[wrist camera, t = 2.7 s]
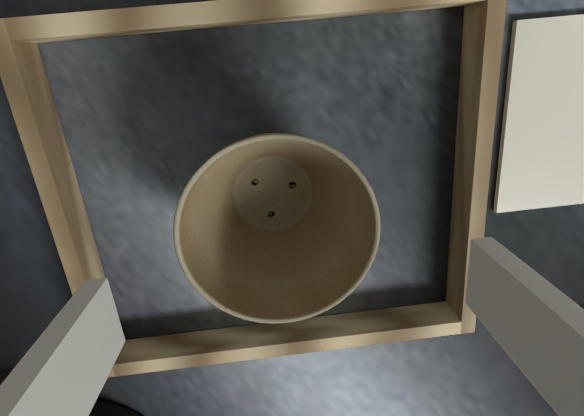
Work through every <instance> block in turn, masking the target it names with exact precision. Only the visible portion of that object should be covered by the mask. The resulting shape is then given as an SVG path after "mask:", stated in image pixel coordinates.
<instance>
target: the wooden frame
mask: <svg viewBox="0 0 584 416" xmlns="http://www.w3.org/2000/svg"><path fill="white" fill-rule="evenodd" d="M506 3H507V0H215V1H203V2H191V3H179V4H167V5H155V6H143V7H131V8H119V9H107V10H95V11H83V12H71V13H59V14H47V15H35V16H23V17H11V18H0V77H1V80H2V83H3V86H4V89H5V92H6V95H7V98H8V101H9V104H10V107H11V110H12V113H13V116H14V119H15V123H16V126H17V129H18V132H19V135H20V138H21V141H22V144H23V147H24V150H25V153H26V156H27V159H28V162H29V165H30V168H31V171H32V174H33V177H34V180H35V183H36V186H37V189H38V192H39V195H40V198H41V201H42V204H43V207H44V210H45V213H46V216H47V219H48V222H49V225H50V228H51V231H52V234H53V238H54V241H55V244H56V247H57V250H58V253H59V256H60V259H61V262H62V265H63V268H64V271H65V274H66V277H67V280H68V283H69V286H70V289H71V292H72V295H74V293H75V292H76V291H77V290H78V289H79V287H80V286H81V285H82V284H83V282H84V281H85V280H91V279H101V278H105V275H104V271H103V268H102V265H101V261H100V258H99V254H98V251H97V247H96V244H95V240H94V237H93V234H92V230H91V227H90V223H89V220H88V216H87V213H86V209H85V206H84V203H83V199H82V196H81V192H80V189H79V185H78V182H77V178H76V175H75V172H74V168H73V165H72V161H71V158H70V154H69V151H68V148H67V144H66V141H65V137H64V134H63V130H62V127H61V123H60V120H59V117H58V113H57V110H56V106H55V103H54V99H53V96H52V92H51V89H50V86H49V82H48V79H47V75H46V72H45V68H44V65H43V61H42V58H41V55H40V51H39V48H38V44H37V43H43V42H55V41H67V40H78V39H90V38H101V37H113V36H124V35H136V34H148V33H159V32H171V31H182V30H194V29H205V28H217V27H229V26H240V25H252V24H263V23H275V22H286V21H298V20H310V19H321V18H333V17H344V16H356V15H367V14H379V13H390V12H402V11H414V10H425V9H437V8H448V7H460V6H464V20H463V36H462V52H461V67H460V83H459V99H458V115H457V130H456V146H455V162H454V178H453V194H452V209H451V225H450V241H449V257H448V272H447V288H446V301H445V302H436V303H428V304H420V305H412V306H403V307H395V308H387V309H378V310H370V311H362V312H353V313H345V314H337V315H328V316H320V317H312V318H307V319H304V320H300V321H295V322H289V323H275V324H271V323H262V324H253V325H245V326H237V327H228V328H220V329H212V330H204V331H195V332H187V333H179V334H170V335H162V336H154V337H145V338H137V339H129V340H125V343H124V345H123V347H122V349H121V351H120V353H119V355H118V357H117V359H116V361H115V363H114V365H113V367H112V369H111V371H110V374H109V376H108V377H116V376H124V375H132V374H140V373H148V372H156V371H164V370H172V369H180V368H188V367H196V366H204V365H212V364H220V363H228V362H237V361H245V360H253V359H261V358H269V357H277V356H285V355H293V354H301V353H309V352H317V351H325V350H333V349H341V348H349V347H357V346H365V345H374V344H382V343H390V342H398V341H406V340H414V339H422V338H430V337H438V336H446V335H454V334H462V333H470V332H475V322H476V315H475V314H474V313H473V312H472V310H471V309H470V308H469V307H468V306H467V304H466V303H465V301H466V289H467V278H468V267H469V255H470V244H471V239H476V238H484V229H485V219H486V208H487V198H488V188H489V178H490V167H491V157H492V147H493V136H494V126H495V116H496V106H497V95H498V85H499V75H500V64H501V54H502V44H503V33H504V23H505V13H506Z"/></svg>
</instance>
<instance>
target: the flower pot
mask: <svg viewBox="0 0 584 416" xmlns="http://www.w3.org/2000/svg"><path fill="white" fill-rule="evenodd" d="M252 182H255V183H256V185H253V184H252ZM291 182H294V183H293V184H291V185H289V184H290V183H291ZM272 212H274V216H272ZM173 236H174V245H175V250H176V254H177V257H178V261H179V263H180V266H181V268H182V270H183V272H184V274H185V275H186V277H187V278H188V280H189V282H190V283H191V284H192V286H193V287H194V288H195V289H196V290H197V292H198V293H199V294H201V295H202V296H203V297H204V298H205V299H206V300H207V301H209V302H210V303H211V304H212V305H214V306H215V307H217V308H218V309H220V310H222V311H224V312H226V313H228V314H230V315H232V316H235V317H238V318H241V319H244V320H248V321H252V322H258V323H271V324H275V323H289V322H295V321H300V320H304V319H307V318H310V317H313V316H316V315H318V314H321V313H323V312H325V311H327V310H329V309H331V308H332V307H334V306H335V305H337V304H339V303H340V302H341V301H343V300H344V299H345V298H346V297H347V296H348V295H350V294H351V293H352V292H353V291H354V290H355V289H356V287H357V286H358V285H359V284H360V283H361V281H362V280H363V279H364V277H365V276H366V274H367V272H368V271H369V269H370V267H371V265H372V263H373V260H374V258H375V256H376V253H377V249H378V245H379V240H380V214H379V208H378V204H377V201H376V198H375V195H374V192H373V190H372V188H371V186H370V184H369V182H368V181H367V179H366V178H365V176H364V175H363V173H362V172H361V171H360V170H359V169H358V167H357V166H356V165H355V164H354V163H353V162H352V161H351V160H350V159H348V158H347V157H346V156H345V155H343V154H342V153H341V152H339V151H338V150H336V149H334V148H333V147H331V146H329V145H327V144H325V143H323V142H320V141H318V140H315V139H312V138H309V137H305V136H302V135H297V134H290V133H265V134H260V135H254V136H250V137H247V138H244V139H241V140H239V141H236V142H234V143H232V144H230V145H228V146H226V147H225V148H223V149H221V150H220V151H218V152H217V153H215V154H214V155H213V156H212V157H210V158H209V159H208V160H207V161H206V162H205V163H204V164H203V165H202V166H201V167H200V168H199V169H198V170H197V171H196V172H195V173H194V174H193V176H192V177H191V179H190V180H189V181H188V183H187V185H186V186H185V188H184V190H183V192H182V194H181V196H180V199H179V202H178V205H177V208H176V212H175V216H174V226H173Z"/></svg>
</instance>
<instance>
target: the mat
mask: <svg viewBox="0 0 584 416" xmlns="http://www.w3.org/2000/svg"><path fill="white" fill-rule="evenodd" d="M582 203H584V14H581V15H569V16H558V17H547V18H535V19H524V20H515V21H513V26H512V35H511V45H510V55H509V64H508V74H507V83H506V93H505V103H504V112H503V122H502V132H501V141H500V151H499V160H498V170H497V180H496V189H495V199H494V209H493V211H494V212H496V213H501V212H510V211H519V210H528V209H537V208H546V207H555V206H564V205H573V204H582Z"/></svg>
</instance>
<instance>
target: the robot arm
mask: <svg viewBox="0 0 584 416" xmlns="http://www.w3.org/2000/svg"><path fill="white" fill-rule="evenodd" d="M465 303H466V304H467V306H468V307H469V308H470V309H471V310H472V312H473V313H474V314H475V315H476V316H477V318H478V319H479V320H480V321H481V323H482V324H483V325H484V326H485V327H486V329H487V330H488V331H489V332H490V334H491V335H492V336H493V337H494V338H495V340H496V341H497V342H498V343H499V344H500V346H501V347H502V348H503V349H504V351H505V352H506V353H507V354H508V355H509V357H510V358H511V359H512V360H513V361H514V363H515V364H516V365H517V366H518V368H519V369H520V370H521V371H522V372H523V374H524V375H525V376H526V377H527V378H528V380H529V381H530V382H531V383H532V385H533V386H534V387H535V388H536V389H537V391H538V392H539V393H540V394H541V395H542V397H543V398H544V399H545V400H546V402H547V403H548V404H549V405H550V406H551V408H552V409H553V410H554V411H555V413H556V414H557V415H558V416H584V304H580V305H578V304H576V303H575V302H574V301H573V300H571V299H570V298H569V297H568V296H566V295H565V294H564V293H562V292H561V291H560V290H559V289H557V288H556V287H555V286H553V285H552V284H551V283H550V282H548V281H547V280H546V279H545V278H543V277H542V276H541V275H539V274H538V273H537V272H536V271H534V270H533V269H532V268H531V267H529V266H528V265H527V264H525V263H524V262H523V261H522V260H520V259H519V258H518V257H517V256H515V255H514V254H513V253H511V252H510V251H509V250H508V249H506V248H505V247H504V246H503V245H501V244H500V243H499V242H497V241H496V240H495V239H494V238H492V237H485V238H476V239H471V244H470V255H469V267H468V278H467V289H466V301H465ZM124 343H125V337H124V334H123V330H122V327H121V323H120V320H119V317H118V313H117V310H116V306H115V303H114V299H113V296H112V293H111V289H110V286H109V282H108V279H107V278H101V279H91V280H85V281H84V282H83V284H82V285H81V286H80V287H79V289H78V290H77V291H76V292H75V293H74V295H73V296H72V297H71V298H70V300H69V301H68V302H67V303H66V305H65V306H64V307H63V308H62V310H61V311H60V312H59V313H58V315H57V316H56V317H55V318H54V319H53V321H52V322H51V323H50V324H49V326H48V327H47V328H46V329H45V331H44V332H43V333H42V334H41V336H40V337H39V338H38V339H37V341H36V342H35V343H34V344H33V345H32V347H31V348H30V349H29V350H28V352H27V353H26V354H25V355H24V357H23V358H22V359H21V360H20V362H19V363H18V364H17V365H16V367H15V368H14V369H13V370H6V371H2V372H1V373H0V416H140V415H139V414H137V413H135V412H133V411H131V410H128V409H126V408H124V407H121V406H118V405H115V404H111V403H108V402H103V401H98V400H97V398H98V396H99V394H100V392H101V390H102V388H103V386H104V384H105V382H106V380H107V378H108V376H109V374H110V371H111V369H112V367H113V365H114V363H115V361H116V359H117V357H118V355H119V353H120V351H121V349H122V347H123V345H124Z"/></svg>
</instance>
